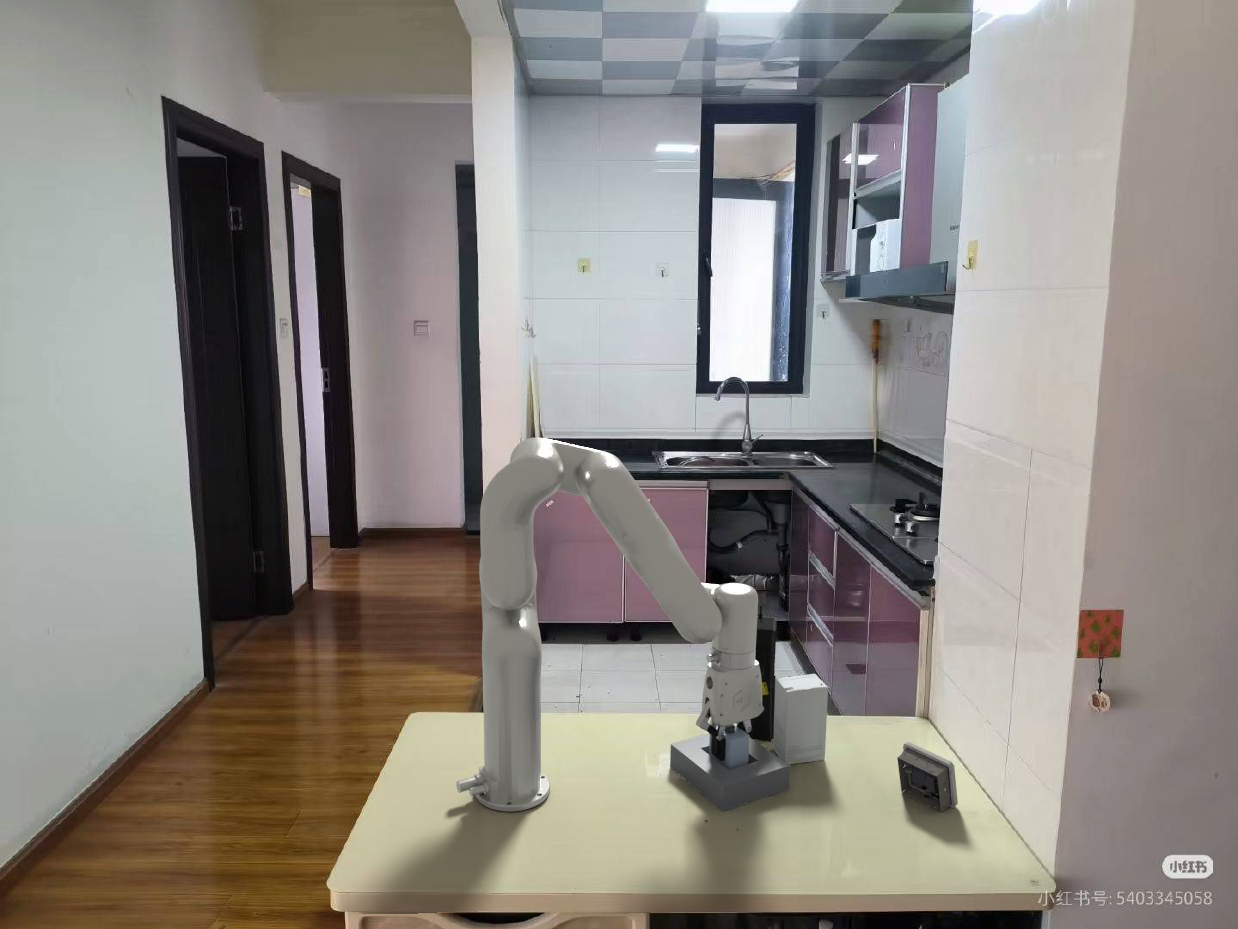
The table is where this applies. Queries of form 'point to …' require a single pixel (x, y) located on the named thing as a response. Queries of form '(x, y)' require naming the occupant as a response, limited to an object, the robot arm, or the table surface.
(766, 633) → the portable radio
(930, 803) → the electrical switch
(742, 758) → the plug
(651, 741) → the table surface
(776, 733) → the skincare box
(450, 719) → the table surface
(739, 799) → the socket block
